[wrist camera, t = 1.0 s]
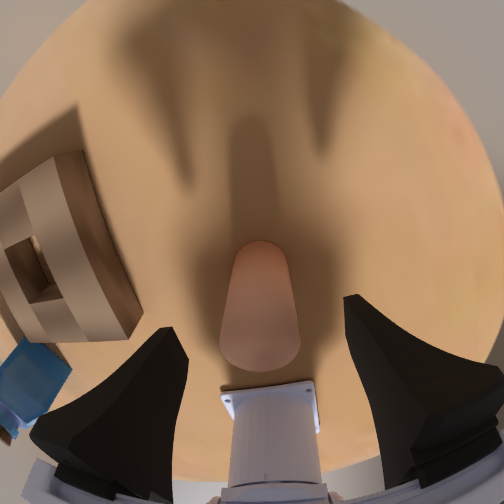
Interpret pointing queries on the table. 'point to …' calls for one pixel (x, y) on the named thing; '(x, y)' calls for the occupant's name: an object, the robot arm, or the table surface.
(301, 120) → the table surface
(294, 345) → the peg
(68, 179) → the socket
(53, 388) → the perfume bottle
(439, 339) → the table surface
